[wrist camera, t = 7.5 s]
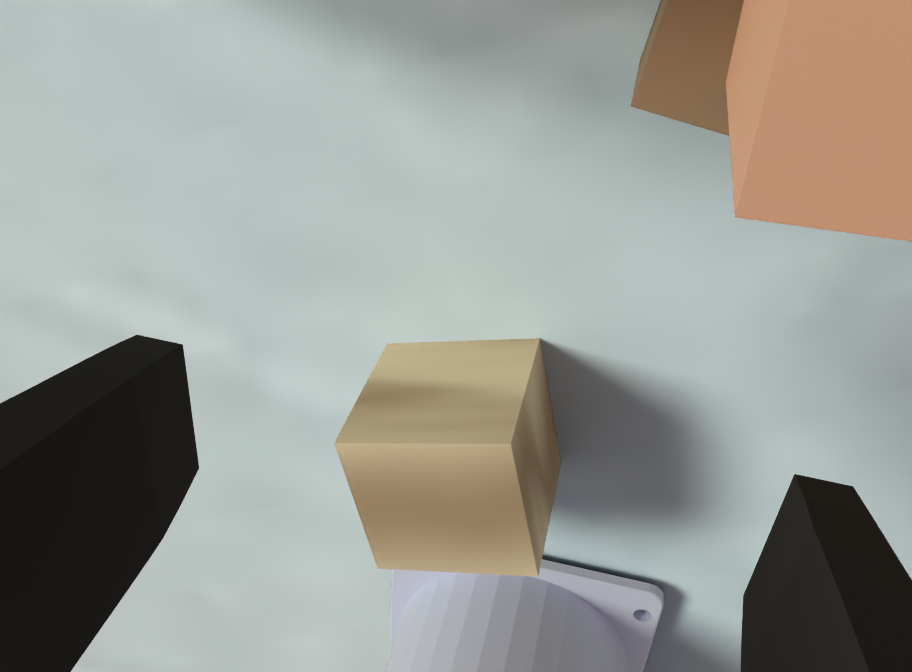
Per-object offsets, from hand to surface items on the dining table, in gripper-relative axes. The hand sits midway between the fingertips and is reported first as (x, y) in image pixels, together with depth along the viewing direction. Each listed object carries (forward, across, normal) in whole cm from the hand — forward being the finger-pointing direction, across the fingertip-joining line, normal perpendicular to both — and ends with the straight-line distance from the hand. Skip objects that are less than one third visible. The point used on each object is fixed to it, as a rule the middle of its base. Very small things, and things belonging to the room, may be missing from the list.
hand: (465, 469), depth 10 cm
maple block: (+10, +1, +7) cm, 12 cm away
